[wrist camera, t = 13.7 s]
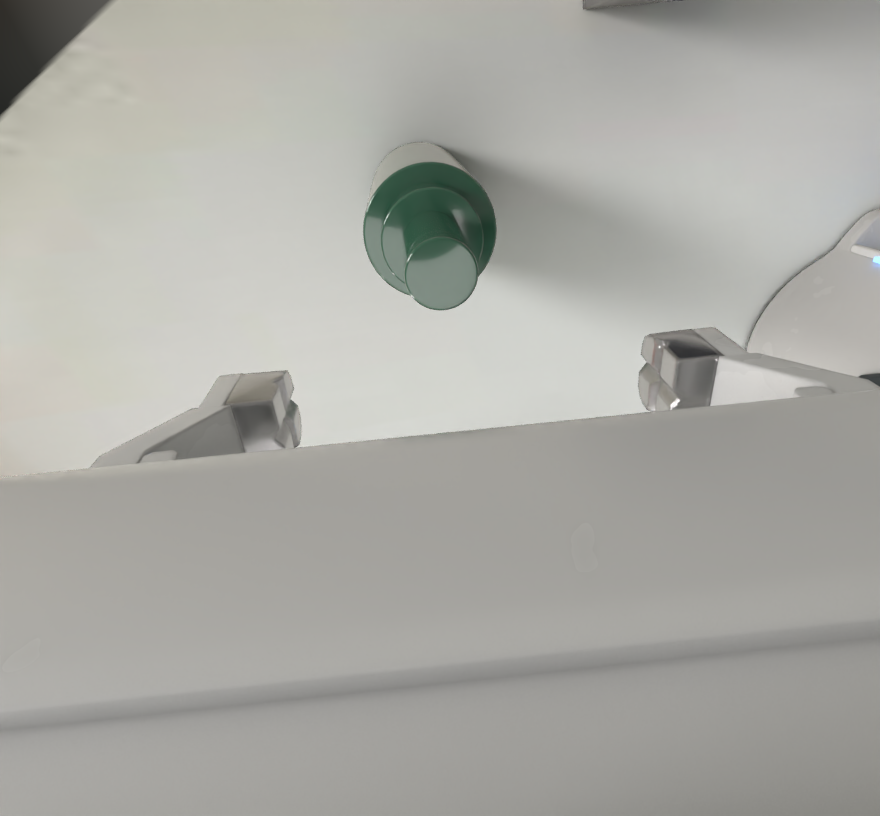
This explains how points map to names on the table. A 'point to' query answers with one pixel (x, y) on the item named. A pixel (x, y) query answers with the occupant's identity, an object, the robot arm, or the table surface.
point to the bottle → (428, 225)
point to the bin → (617, 3)
